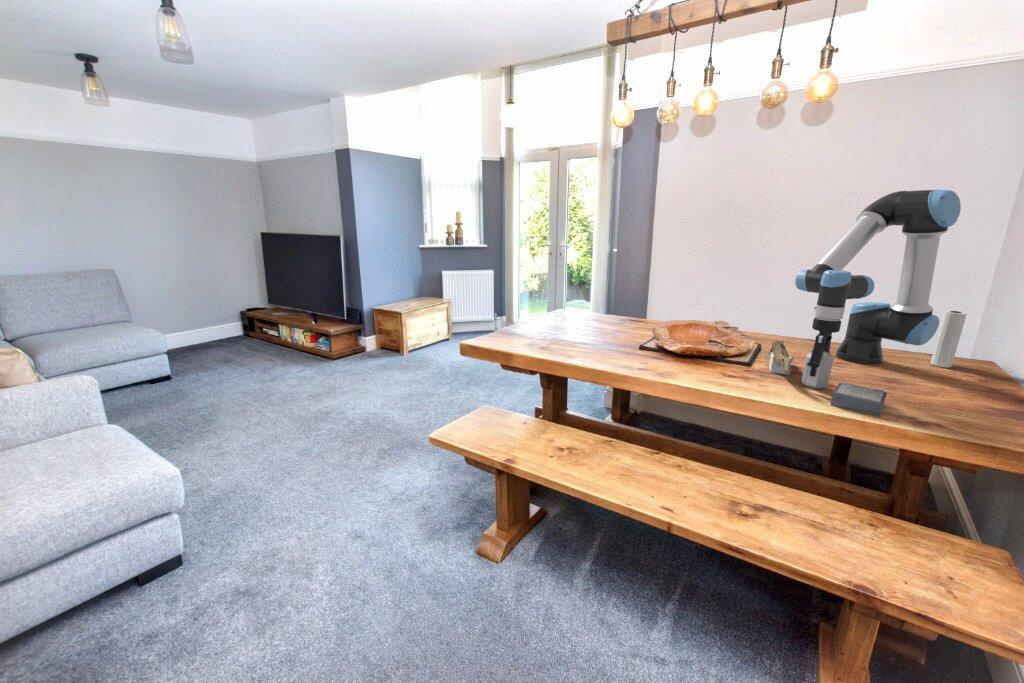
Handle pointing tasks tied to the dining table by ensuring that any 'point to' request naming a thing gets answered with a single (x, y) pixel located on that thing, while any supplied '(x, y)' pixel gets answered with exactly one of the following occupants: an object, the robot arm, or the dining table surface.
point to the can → (823, 371)
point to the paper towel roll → (948, 338)
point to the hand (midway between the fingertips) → (815, 379)
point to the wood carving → (779, 358)
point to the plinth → (859, 398)
